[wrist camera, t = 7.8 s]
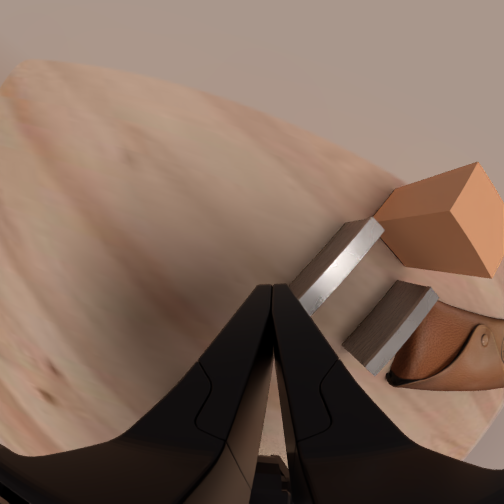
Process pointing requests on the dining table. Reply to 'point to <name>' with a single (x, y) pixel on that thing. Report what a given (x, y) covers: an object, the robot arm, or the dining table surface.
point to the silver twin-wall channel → (383, 315)
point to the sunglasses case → (451, 353)
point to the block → (446, 223)
